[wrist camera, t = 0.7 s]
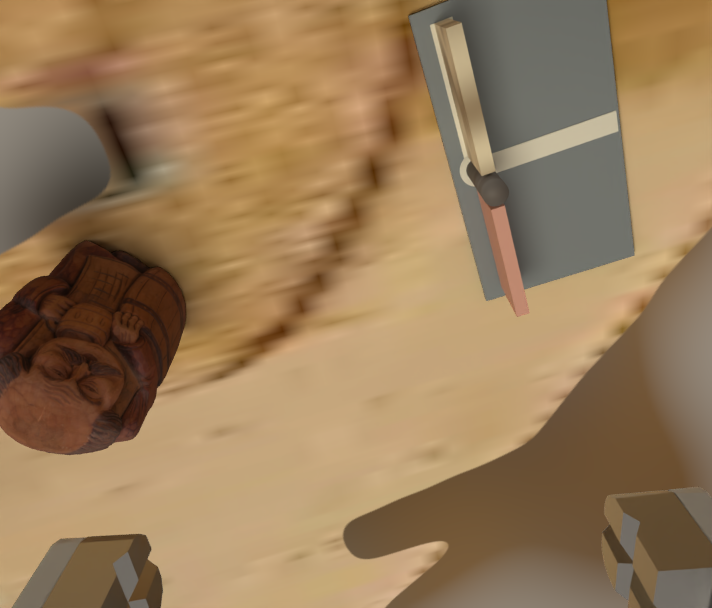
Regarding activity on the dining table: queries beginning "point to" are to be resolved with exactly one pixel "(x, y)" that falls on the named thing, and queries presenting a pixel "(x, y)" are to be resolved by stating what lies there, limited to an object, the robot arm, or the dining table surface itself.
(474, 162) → the fixed fence panel
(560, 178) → the card
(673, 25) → the dining table surface
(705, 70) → the dining table surface
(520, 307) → the hinged fence panel
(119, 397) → the wooden figurine
